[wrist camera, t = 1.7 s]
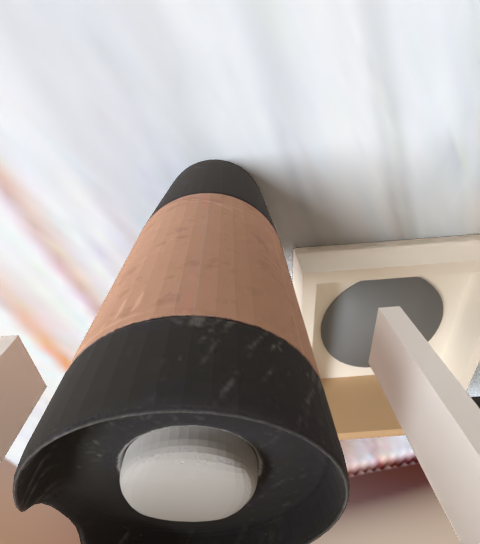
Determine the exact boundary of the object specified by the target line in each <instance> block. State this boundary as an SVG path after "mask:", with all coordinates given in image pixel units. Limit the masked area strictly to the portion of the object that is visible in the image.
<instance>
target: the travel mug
mask: <svg viewBox="0 0 480 544" xmlns="http://www.w3.org/2000/svg"><path fill="white" fill-rule="evenodd" d="M13 497H14V502H15V505H16V507H17V508H18V509H19V510H20V511H21V512H23V511H25V510H27V509H28V508H29V507H31V506H33V505H34V504H39V503H43V504H46V505H49V506H52V507H53V508H55V509H56V510H58V511H60V512H61V513H62V514H64V515H65V516H66V517H67V518H69V519H70V520H71V522H72V523H73V524H74V525H75V526H76V528H77V531H78V533H79V537H80V542H81V544H310V543H311V542H313V541H314V540H316V539H318V538H319V537H321V536H322V535H323V534H324V533H326V532H327V531H328V530H329V529H330V528H331V527H332V526H333V525H334V524H335V523H336V522H337V521H338V520H339V518H340V517H341V515H342V514H343V512H344V510H345V508H346V505H347V502H348V497H349V478H348V473H347V467H346V463H345V459H344V455H343V451H342V448H341V445H340V441H339V438H338V435H337V431H336V428H335V425H334V421H333V418H332V414H331V411H330V408H329V404H328V401H327V398H326V394H325V391H324V388H323V385H322V381H321V378H320V374H319V371H318V367H317V364H316V361H315V357H314V354H313V351H312V347H311V344H310V341H309V337H308V334H307V330H306V327H305V324H304V320H303V317H302V314H301V310H300V307H299V303H298V300H297V297H296V293H295V290H294V287H293V283H292V280H291V277H290V273H289V270H288V266H287V263H286V260H285V256H284V253H283V250H282V246H281V243H280V240H279V237H278V235H277V232H276V230H275V227H274V225H273V222H272V220H271V217H270V215H269V212H268V210H267V207H266V205H265V202H264V200H263V197H262V195H261V192H260V190H259V188H258V186H257V184H256V183H255V181H254V180H253V178H252V177H251V176H250V175H249V174H248V173H247V172H246V171H245V170H243V169H242V168H240V167H239V166H237V165H235V164H233V163H230V162H227V161H222V160H207V161H202V162H198V163H196V164H194V165H191V166H190V167H188V168H187V169H185V170H184V171H183V172H182V173H181V174H180V175H179V176H178V177H177V178H176V180H175V181H174V182H173V184H172V185H171V187H170V188H169V190H168V191H167V193H166V194H165V196H164V197H163V199H162V200H161V202H160V203H159V205H158V206H157V208H156V209H155V211H154V212H153V214H152V216H151V217H150V219H149V220H148V222H147V223H146V225H145V226H144V228H143V230H142V232H141V233H140V235H139V237H138V239H137V241H136V243H135V245H134V246H133V248H132V250H131V252H130V254H129V256H128V258H127V259H126V261H125V263H124V265H123V267H122V269H121V271H120V273H119V274H118V276H117V278H116V280H115V282H114V284H113V286H112V287H111V289H110V291H109V293H108V295H107V297H106V299H105V300H104V302H103V304H102V306H101V308H100V310H99V312H98V313H97V315H96V317H95V319H94V321H93V323H92V325H91V327H90V328H89V330H88V332H87V334H86V336H85V338H84V340H83V341H82V343H81V345H80V347H79V349H78V351H77V353H76V354H75V356H74V358H73V360H72V362H71V364H70V366H69V368H68V370H67V371H66V373H65V375H64V377H63V379H62V381H61V382H60V384H59V386H58V388H57V390H56V392H55V394H54V395H53V397H52V399H51V401H50V403H49V405H48V407H47V408H46V410H45V412H44V414H43V416H42V418H41V420H40V421H39V423H38V425H37V427H36V429H35V431H34V433H33V434H32V436H31V438H30V440H29V442H28V444H27V446H26V448H25V450H24V452H23V455H22V457H21V459H20V462H19V464H18V467H17V469H16V473H15V475H14V483H13Z"/></svg>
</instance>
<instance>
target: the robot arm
mask: <svg viewBox="0 0 480 544" xmlns="http://www.w3.org/2000/svg"><path fill="white" fill-rule="evenodd" d="M368 363H369V365H370V367H371V369H372V371H373V373H374V374H375V376H376V378H377V380H378V382H379V384H380V386H381V388H382V390H383V392H384V394H385V396H386V398H387V400H388V402H389V404H390V406H391V408H392V410H393V412H394V414H395V416H396V418H397V420H398V422H399V424H400V426H401V428H402V430H403V432H404V433H405V435H406V437H407V439H408V441H409V443H410V445H411V447H412V449H413V451H414V453H415V455H416V457H417V459H418V461H419V463H420V465H421V467H422V469H423V471H424V473H425V475H426V477H427V479H428V480H429V483H430V484H431V487H432V489H433V491H434V492H435V494H436V496H437V498H438V500H439V502H440V504H441V506H442V508H443V510H444V512H445V514H446V516H447V518H448V520H449V522H450V524H451V526H452V528H453V530H454V532H455V533H456V536H457V538H458V539H459V541H460V544H480V397H470V396H469V394H468V393H467V392H466V390H465V389H464V388H463V387H462V385H461V384H460V383H459V381H458V380H457V379H456V378H455V376H454V375H453V374H452V372H451V371H450V370H449V369H448V367H447V366H446V365H445V364H444V362H443V361H442V360H441V358H440V357H439V356H438V355H437V353H436V352H435V351H434V349H433V348H432V347H431V346H430V344H429V343H428V342H427V340H426V339H425V338H424V337H423V335H422V334H421V333H420V331H419V330H418V329H417V328H416V326H415V325H414V324H413V322H412V321H411V320H410V319H409V317H408V316H407V315H406V314H405V312H404V311H403V310H402V308H401V307H400V306H394V307H381V308H378V313H377V319H376V324H375V329H374V335H373V340H372V345H371V351H370V356H369V361H368ZM46 387H47V386H46V384H45V383H44V381H43V379H42V377H41V375H40V374H39V372H38V370H37V368H36V366H35V365H34V363H33V361H32V359H31V357H30V356H29V354H28V352H27V350H26V348H25V347H24V345H23V343H22V341H21V339H20V338H19V336H18V335H14V336H1V337H0V464H1V462H2V460H3V459H4V457H5V455H6V454H7V452H8V450H9V449H10V447H11V445H12V444H13V442H14V440H15V439H16V437H17V435H18V434H19V432H20V430H21V429H22V427H23V425H24V424H25V422H26V420H27V419H28V417H29V415H30V414H31V412H32V410H33V409H34V407H35V405H36V404H37V402H38V400H39V399H40V397H41V395H42V394H43V392H44V390H45V389H46Z"/></svg>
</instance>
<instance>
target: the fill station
mask: <svg viewBox="0 0 480 544" xmlns="http://www.w3.org/2000/svg"><path fill="white" fill-rule="evenodd" d="M293 287H294V290H295V293H296V297H297V300H298V303H299V307H300V310H301V314H302V317H303V320H304V324H305V327H306V330H307V334H308V337H309V341H310V344H311V347H312V351H313V354H314V357H315V361H316V364H317V367H318V371H319V374H320V378H321V381H322V385H323V388H324V391H325V394H326V398H327V401H328V404H329V408H330V411H331V414H332V418H333V421H334V425H335V428H336V431H337V435H338V438H339V440H344V439H358V438H372V437H386V436H400V435H405V433H404V432H403V430H402V428H401V426H400V424H399V422H398V420H397V418H396V416H395V414H394V412H393V410H392V408H391V406H390V404H389V402H388V400H387V398H386V396H385V394H384V392H383V390H382V388H381V386H380V384H379V382H378V380H377V378H376V376H375V374H374V373H373V371H372V369H371V367H370V365H369V363H368V361H369V356H370V351H371V345H372V340H373V335H374V329H375V324H376V319H377V313H378V308H381V307H394V306H400V307H401V308H402V310H403V311H404V312H405V314H406V315H407V316H408V317H409V319H410V320H411V321H412V322H413V324H414V325H415V326H416V328H417V329H418V330H419V331H420V333H421V334H422V335H423V337H424V338H425V339H426V340H427V342H428V343H429V344H430V346H431V347H432V348H433V349H434V351H435V352H436V353H437V355H438V356H439V357H440V358H441V360H442V361H443V362H444V364H445V365H446V366H447V367H448V369H449V370H450V371H451V372H452V374H453V375H454V376H455V378H456V379H457V380H458V381H459V383H460V384H461V385H462V387H463V388H464V389H465V390H467V388H468V386H469V383H470V381H471V379H472V377H473V375H474V372H475V370H476V368H477V366H478V364H479V361H480V234H474V235H460V236H447V237H434V238H421V239H408V240H395V241H382V242H369V243H355V244H342V245H329V246H316V247H303V248H294V250H293Z"/></svg>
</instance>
